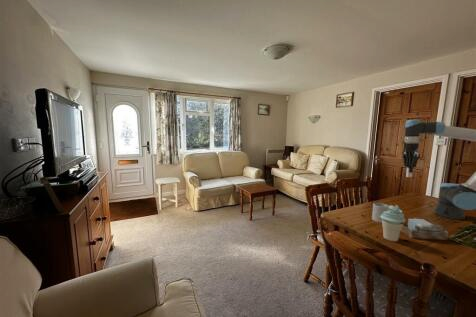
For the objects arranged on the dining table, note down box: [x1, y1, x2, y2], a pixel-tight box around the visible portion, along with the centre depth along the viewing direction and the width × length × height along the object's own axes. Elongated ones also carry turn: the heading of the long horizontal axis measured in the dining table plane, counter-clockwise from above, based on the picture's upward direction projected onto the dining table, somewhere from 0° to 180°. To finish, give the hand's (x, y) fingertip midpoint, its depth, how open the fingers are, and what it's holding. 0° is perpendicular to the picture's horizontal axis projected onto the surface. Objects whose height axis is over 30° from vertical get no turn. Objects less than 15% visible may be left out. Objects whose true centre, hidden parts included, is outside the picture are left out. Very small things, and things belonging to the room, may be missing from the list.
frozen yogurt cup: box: [380, 204, 407, 242], centre depth 110 cm, size 10×11×20 cm
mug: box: [371, 202, 389, 224], centre depth 135 cm, size 12×8×11 cm
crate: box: [407, 218, 434, 229], centre depth 117 cm, size 8×8×7 cm
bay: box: [400, 217, 449, 241], centre depth 121 cm, size 18×23×8 cm
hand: (409, 176), depth 138 cm, fingers closed
